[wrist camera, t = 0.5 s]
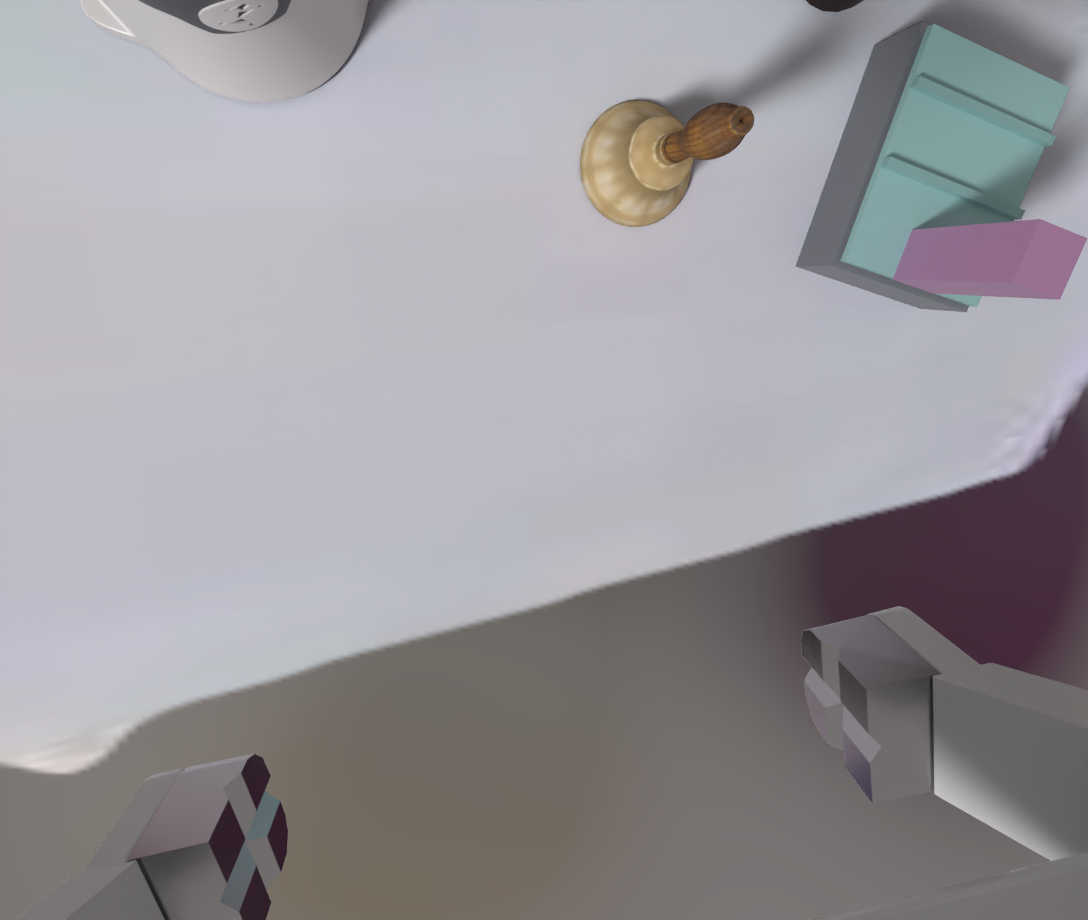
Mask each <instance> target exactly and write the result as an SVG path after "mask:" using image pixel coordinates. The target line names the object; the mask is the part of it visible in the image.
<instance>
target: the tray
mask: <svg viewBox="0 0 1088 920" xmlns="http://www.w3.org/2000/svg"><path fill="white" fill-rule="evenodd" d="M928 26H930V24H928V23H925V22H923V21H922V22H920V23H918V24H916V25H914V26H912V27H910V28H908V29H906V30H904V31H902V32H900V33H898V34H896V35H894V36H892V37H890V38H887V39H885V40H883V41H881V42H879V43H877V44H875V45H874V48H873V51H872V54H871V56H870V59H869V62H868V65H867V68H866V71H865V73H864V76H863V79H862V82H861V85H860V87H859V90H858V93H857V96H856V99H855V101H854V104H853V107H852V110H851V113H850V116H849V118H848V121H847V124H846V127H845V130H844V132H843V135H842V138H841V141H840V144H839V146H838V149H837V152H836V155H835V158H834V160H833V163H832V166H831V169H830V172H829V175H828V177H827V180H826V183H825V186H824V189H823V191H822V194H821V197H820V200H819V203H818V205H817V208H816V211H815V214H814V217H813V220H812V222H811V225H810V228H809V231H808V234H807V236H806V239H805V242H804V245H803V248H802V250H801V253H800V256H799V259H798V262H797V265H796V267H799V268H802V269H805V270H808V271H811V272H814V273H817V274H820V275H823V276H826V277H829V278H832V279H835V280H838V281H841V282H844V283H847V284H850V285H852V286H855V287H858V288H861V289H864V290H867V291H870V292H873V293H876V294H879V295H882V296H885V297H888V298H891V299H894V300H897V301H900V302H903V303H906V304H909V305H911V306H914V307H917V308H920V309H933V310H945V311H958V312H967V310H968V307H969V306H968V305H965V304H962V303H959V302H957V301H954V300H951V299H948V298H945V297H942V296H939V295H936V294H932V293H929V292H926V291H924V290H921V289H918V288H915V287H912V286H909V285H906V284H903V283H901V282H898V281H895V280H893V279H890V278H888V277H885V276H882V275H879V274H876V273H873V272H870V271H868V270H865V269H862V268H859V267H856V266H853V265H850V264H847V263H845V262H842V261H841V258H842V255H843V253H844V250H845V247H846V245H847V242H848V239H849V237H850V234H851V231H852V228H853V226H854V223H855V220H856V218H857V215H858V212H859V210H860V207H861V204H862V201H863V199H864V196H865V193H866V191H867V188H868V185H869V182H870V180H871V177H872V174H873V172H874V169H875V166H876V164H877V161H878V158H879V155H880V153H881V150H882V147H883V145H884V142H885V139H886V137H887V134H888V131H889V128H890V126H891V123H892V120H893V118H894V115H895V112H896V109H897V107H898V104H899V101H900V99H901V96H902V93H903V91H904V88H905V85H906V82H907V80H908V77H909V74H910V72H911V69H912V66H913V64H914V61H915V58H916V55H917V53H918V50H919V47H920V45H921V42H922V39H923V36H924V34H925V31H926V28H927V27H928Z"/></svg>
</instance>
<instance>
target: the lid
mask: <svg viewBox="0 0 1088 920" xmlns="http://www.w3.org/2000/svg"><path fill="white" fill-rule="evenodd" d="M1068 90H1069V87H1067V86H1065V85H1063V84H1061V83H1059V82H1057V81H1054V80H1052V79H1050V78H1048V77H1046V76H1044V75H1042V74H1040V73H1038V72H1035V71H1033V70H1031V69H1029V68H1027V67H1025V66H1023V65H1021V64H1018V63H1016V62H1014V61H1012V60H1010V59H1008V58H1006V57H1004V56H1002V55H999V54H997V53H995V52H993V51H991V50H989V49H987V48H985V47H982V46H980V45H978V44H976V43H974V42H972V41H970V40H968V39H966V38H963V37H961V36H959V35H957V34H955V33H953V32H951V31H949V30H946V29H944V28H942V27H940V26H938V25H936V24H932V25H930V26H928V27H927V28H926V31H925V34H924V36H923V39H922V42H921V45H920V47H919V50H918V53H917V55H916V58H915V61H914V64H913V66H912V69H911V72H910V74H909V77H908V80H907V82H906V85H905V88H904V91H903V93H902V96H901V99H900V101H899V104H898V107H897V109H896V112H895V115H894V118H893V120H892V123H891V126H890V128H889V131H888V134H887V137H886V139H885V142H884V145H883V147H882V150H881V153H880V155H879V158H878V161H877V164H876V166H875V169H874V172H873V174H872V177H871V180H870V182H869V185H868V188H867V191H866V193H865V196H864V199H863V201H862V204H861V207H860V210H859V212H858V215H857V218H856V220H855V223H854V226H853V228H852V231H851V234H850V237H849V239H848V242H847V245H846V247H845V250H844V253H843V255H842V258H841V261H842V262H845V263H847V264H850V265H853V266H856V267H859V268H862V269H865V270H868V271H870V272H873V273H876V274H879V275H882V276H885V277H888V278H890V279H893V280H895V281H898V282H901V283H903V284H906V285H909V286H912V287H915V288H918V289H921V290H924V291H926V292H929V293H932V294H936V295H939V296H942V297H945V298H948V299H951V300H954V301H957V302H959V303H962V304H965V305H968V306H972V307H977V306H978V304H979V301H980V299H981V297H982V296H996V297H1017V298H1039V299H1060V298H1061V296H1062V293H1063V291H1064V289H1065V287H1066V284H1067V282H1068V280H1069V278H1070V275H1071V273H1072V271H1073V269H1074V267H1075V264H1076V262H1077V260H1078V258H1079V255H1080V253H1081V251H1082V249H1083V247H1084V244H1085V242H1086V240H1087V238H1085V237H1083V236H1080V235H1078V234H1075V233H1073V232H1070V231H1068V230H1065V229H1063V228H1060V227H1058V226H1055V225H1053V224H1050V223H1048V222H1046V221H1043V220H1041V219H1038V220H1025V221H1014V220H1017V219H1021V218H1022V216H1023V214H1024V211H1025V210H1022V209H1020V208H1019V207H1020V204H1021V202H1022V199H1023V197H1024V195H1025V192H1026V190H1027V188H1028V185H1029V183H1030V180H1031V178H1032V176H1033V173H1034V171H1035V169H1036V166H1037V164H1038V161H1039V159H1040V157H1041V154H1042V152H1043V150H1044V147H1047V146H1052V145H1053V143H1054V141H1055V138H1056V136H1054V135H1052V134H1050V133H1051V131H1052V128H1053V126H1054V124H1055V121H1056V119H1057V116H1058V114H1059V112H1060V109H1061V107H1062V105H1063V102H1064V100H1065V97H1066V95H1067V93H1068Z"/></svg>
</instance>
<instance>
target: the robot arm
mask: <svg viewBox="0 0 1088 920" xmlns="http://www.w3.org/2000/svg"><path fill="white" fill-rule="evenodd" d="M80 2H81V5H82V7H83V9H84V11H85V13H86V14H87V15H88V17H89V18H90V19H91V20H92V21H93V22H94V23H95V24H96V25H97V26H98V27H100V28H101V29H103V30H104V31H106V32H108V33H110V34H113V35H115V36H117V37H120V38H123V39H126V40H128V41H131V42H134V43H137V44H141V45H144V46H146V47H147V48H149V49H151V50H152V51H154V52H155V53H156V54H158V55H159V56H160V57H162V58H163V59H164V60H165V61H166V62H168V63H169V64H170V65H171V66H172V67H174V68H175V69H176V70H177V71H179V72H180V73H181V74H183V75H184V76H186V77H187V78H188V79H190V80H192V81H193V82H195V83H197V84H198V85H200V86H202V87H204V88H206V89H208V90H210V91H212V92H215V93H217V94H220V95H223V96H226V97H229V98H233V99H237V100H242V101H248V102H278V101H284V100H288V99H292V98H295V97H298V96H301V95H304V94H306V93H308V92H310V91H312V90H314V89H316V88H317V87H319V86H320V85H322V84H323V83H325V82H326V81H327V80H328V79H330V78H331V77H332V76H333V75H334V74H335V73H336V72H337V71H338V70H339V69H340V68H341V67H342V65H343V64H344V63H345V61H346V60H347V59H348V57H349V55H350V54H351V52H352V50H353V49H354V47H355V45H356V43H357V40H358V38H359V36H360V33H361V30H362V27H363V23H364V20H365V15H366V10H367V5H368V0H80ZM801 648H802V656H803V657H804V658H805V659H806V661H807V662H808V663H809V664H810V665H811V667H812V668H811V670H810V672H809V673H808V675H807V676H806V678H805V680H804V684H805V692H806V700H807V703H808V706H809V710H810V712H811V715H812V719H813V720H814V723H815V724H816V726H817V728H818V730H819V732H820V734H821V735H822V736H823V738H824V739H825V741H826V742H827V743H828V745H830V746H832V747H834V748H836V749H839V750H841V751H843V752H844V756H845V768H846V769H847V770H848V772H849V773H850V774H851V776H852V777H853V778H854V780H855V781H856V782H857V784H858V785H859V786H860V787H861V789H862V790H863V792H864V793H865V794H866V796H867V797H868V798H869V800H870V801H871V802H872V803H878V802H883V801H888V800H893V799H898V798H903V797H907V796H912V795H917V794H921V793H927V792H931V791H934V794H935V795H937V796H939V797H940V798H942V799H944V800H946V801H947V802H949V803H951V804H953V805H955V806H956V807H958V808H960V809H961V810H963V811H965V812H967V813H968V814H970V815H972V816H974V817H975V818H977V819H979V820H981V821H982V822H984V823H986V824H988V825H989V826H991V827H993V828H995V829H996V830H998V831H1000V832H1002V833H1003V834H1005V835H1007V836H1009V837H1010V838H1012V839H1014V840H1016V841H1017V842H1019V843H1021V844H1023V845H1024V846H1026V847H1028V848H1030V849H1031V850H1033V851H1035V852H1037V853H1038V854H1040V855H1042V856H1044V857H1045V858H1047V859H1049V860H1051V861H1050V862H1045V863H1042V864H1038V865H1033V866H1029V867H1025V868H1021V869H1017V870H1013V871H1009V872H1005V873H1001V874H997V875H993V876H989V877H985V878H981V879H977V880H973V881H969V882H965V883H960V884H956V885H952V886H948V887H944V888H940V889H936V890H932V891H928V892H924V893H920V894H916V895H912V896H908V897H904V898H900V899H896V900H892V901H888V902H884V903H880V904H876V905H872V906H868V907H863V908H859V909H855V910H851V911H847V912H842V913H838V914H834V915H830V916H826V917H822V918H818V919H814V920H1088V690H1084V689H1081V688H1077V687H1074V686H1070V685H1067V684H1063V683H1060V682H1056V681H1053V680H1049V679H1045V678H1042V677H1039V676H1035V675H1032V674H1028V673H1025V672H1021V671H1018V670H1014V669H1011V668H1008V667H1004V666H1000V665H997V664H994V663H988V664H983V665H980V664H978V663H977V662H976V661H975V660H973V659H972V658H971V657H969V656H968V655H967V654H965V653H964V652H963V651H962V650H960V649H959V648H958V647H957V646H955V645H954V644H953V643H951V642H950V641H949V640H947V639H946V638H945V637H944V636H942V635H941V634H940V633H938V632H937V631H936V630H935V629H933V628H932V627H931V626H929V625H928V624H927V623H925V622H924V621H923V620H922V619H920V618H919V617H918V616H917V615H915V614H914V613H913V612H911V611H910V610H909V609H907V608H904V607H900V606H898V607H895V608H890V609H887V610H883V611H879V612H875V613H871V614H867V616H863V617H859V618H854V619H850V620H846V621H842V622H838V623H833V624H829V625H825V626H821V627H817V628H813V629H808V630H804V631H803V632H802V637H801ZM270 776H271V775H270V773H269V771H268V769H267V766H266V764H265V762H264V759H263V758H262V757H260V756H258V755H256V754H251V755H246V756H242V757H237V758H232V759H227V760H222V761H217V762H213V763H207V764H202V765H197V766H192V767H188V768H186V769H178V770H174V771H170V772H165V773H161V774H157V775H153V776H151V777H149V778H147V779H146V780H144V781H143V782H142V784H141V785H140V787H139V788H138V790H137V791H136V793H135V794H134V796H133V797H132V799H131V801H130V802H129V803H128V805H127V806H126V808H125V809H124V811H123V813H122V814H121V816H120V817H119V819H118V820H117V821H116V823H115V824H114V826H113V827H112V829H111V830H110V832H109V833H108V835H107V837H106V838H105V840H104V841H103V843H102V844H101V846H100V847H99V849H98V850H97V852H96V853H95V855H94V856H93V858H92V859H91V861H90V862H89V864H88V865H87V867H86V868H85V870H84V871H83V872H82V873H78V874H73V875H70V876H69V877H68V878H67V879H65V880H64V881H63V882H62V883H60V884H59V885H58V886H56V887H55V888H54V889H53V890H51V891H50V892H49V893H47V894H46V895H45V896H44V897H43V898H41V899H40V900H39V901H37V902H36V903H35V904H33V905H32V906H31V907H30V908H29V909H27V910H26V911H25V912H23V913H22V914H21V915H20V916H18V917H17V918H16V919H14V920H266V917H267V914H268V911H269V908H270V905H271V900H270V898H269V895H268V893H267V891H266V888H267V887H268V886H269V885H270V884H271V883H272V882H273V881H274V880H275V879H276V878H277V877H278V876H279V874H280V873H281V871H282V868H283V865H284V861H285V858H286V855H287V840H288V828H287V822H286V816H285V812H284V810H283V807H282V804H281V801H280V800H278V799H277V798H275V797H274V796H272V795H271V794H269V793H268V792H266V791H265V789H266V787H267V784H268V782H269V779H270Z"/></svg>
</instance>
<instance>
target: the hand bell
mask: <svg viewBox="0 0 1088 920" xmlns="http://www.w3.org/2000/svg"><path fill="white" fill-rule="evenodd" d="M753 124H754V115H753V113H752V111H751V110H750V109H749V108H747V107H745V106H737V105H734V104H730V103H717V104H713V105H710V106H708V107H706V108H704V109H702V110H701V111H699V112H698V113H697V114H695V115H694V116H693V117H692V118H691V119H690V120H689V121H688V123H687V124H686V126H684V125H683V124H682V123H681V122H680V121H679V120H677V119H676V118H675V117H674V116H673V115H672V114H671V113H670V112H668V111H667V110H666V109H664V108H663V107H661V106H659V105H657V104H654V103H651V102H648V101H641V100H632V101H626V102H622V103H619V104H617V105H615V106H613V107H611V108H609V109H608V110H606V111H605V112H604V113H602V114H601V115H600V116H599V117H598V119H597V120H596V121H595V122H594V124H593V125H592V127H591V128H590V130H589V131H588V133H587V135H586V138H585V140H584V143H583V147H582V150H581V157H580V169H581V178H582V183H583V186H584V189H585V191H586V193H587V196H588V198H589V199H590V201H591V202H592V204H593V205H594V206H595V208H596V209H597V210H598V211H599V212H600V213H601V214H602V215H603V216H605V217H606V218H607V219H609V220H611V221H613V222H615V223H617V224H620V225H624V226H629V227H641V226H647V225H651V224H653V223H656V222H658V221H660V220H662V219H663V218H665V217H666V216H667V215H669V214H670V213H671V212H672V211H673V210H674V209H675V208H676V206H677V205H678V204H679V203H680V201H681V200H682V198H683V196H684V194H685V192H686V190H687V187H688V184H689V181H690V176H691V169H692V164H693V160H694V158H696V159H700V160H710V159H715V158H719V157H722V156H724V155H726V154H728V153H730V152H731V151H732V150H734V149H735V148H736V147H737V146H738V145H739V144H740V143H741V141H742V140H743V138H744V136H745V135H746V134H747V133H748V132H749V131H750V130H751V129H752V127H753Z"/></svg>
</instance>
